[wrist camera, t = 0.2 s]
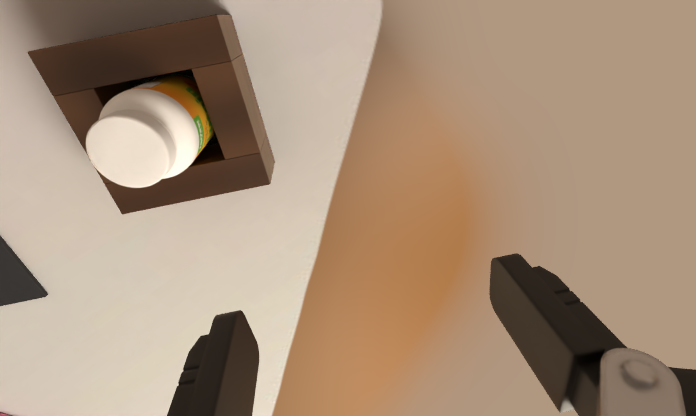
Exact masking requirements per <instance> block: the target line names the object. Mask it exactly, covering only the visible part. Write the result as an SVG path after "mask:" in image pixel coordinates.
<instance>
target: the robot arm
mask: <svg viewBox="0 0 696 416" xmlns="http://www.w3.org/2000/svg"><path fill="white" fill-rule="evenodd" d="M490 300H491V303H492V306H493V309H494V311H495V313H496V314H497V316H498V317H499V319H500V321H501V322H502V324H503V325H504V327H505V328H506V330H507V331H508V333H509V335H510V336H511V337H512V339H513V341H514V342H515V344H516V345H517V347H518V348H519V350H520V351H521V353H522V355H523V356H524V358H525V359H526V361H527V363H528V364H529V366H530V367H531V369H532V370H533V372H534V373H535V375H536V377H537V378H538V380H539V381H540V383H541V384H542V386H543V387H544V389H545V390H546V392H547V394H548V395H549V397H550V398H551V400H552V401H553V403H554V404H555V406H556V407H557V409H558V410H559V412H560V413H562V412H567V411H571V410H575V411H576V412H577V413H578V415H579V416H696V370H692V369H680V368H672V367H667V366H666V365H665V364H663V363H662V362H661V361H659V360H658V359H656V358H654V357H653V356H650V355H649V354H646V353H644V352H641V351H638V350H634V349H629V348H627V347H626V346H625V345H624V344H622V342H621V341H620V340H619V339H618V338H617V337H616V336H615V335H614V334H613V333H612V332H611V331H610V330H609V329H608V328H607V327H606V326H605V325H604V324H603V323H602V322H601V321H600V320H599V319H598V318H597V317H596V316H595V315H594V314H593V312H592V311H590V309H588V307H587V306H586V305H585V304H584V303H583V302H580V299H579V298H578V297H577V296H576V295H575V294H574V293H573V292H572V291H570V290H569V288H568V287H567V286H566V285H565V284H564V283H563V282H562V281H561V280H560V279H559V278H558V276H556V275H555V274H553V273H551V272H549V271H547V270H546V269H544V268H542V267H540V266H538V267H533V268H532V267H531V266H530V265H529V264H528V263H527V262H526V260H525V259H524V258H523V257H522V256H521V255H519V254H512V255H507V256H502V257H497V258H493V259H492V261H491V274H490ZM258 366H259V349H258V345H257V341H256V339H255V337H254V335H253V333H252V330H251V328H250V326H249V324H248V322H247V320H246V317H245V315H244V313H243V312H242V311H241V310H239V311H234V312H230V313H225V314H220V315H216V316H215V318H214V320H213V323H212V326H211V330H210V333H209V334H208V335H204V336H200V338H199V339H198V340H197V342H196V343H195V345H194V346H193V347H192V349H191V350H190V351H189V353H188V356H187V359H186V362H185V365H184V368H183V370H184V371H183V372H182V374H181V377H180V380H179V386H177V388H176V391H175V394H174V397H173V400H172V403H171V406H170V409H169V412H168V414H167V416H252V411H253V404H254V396H255V388H256V381H257V373H258Z"/></svg>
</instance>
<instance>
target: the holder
mask: <svg viewBox="0 0 696 416" xmlns="http://www.w3.org/2000/svg"><path fill="white" fill-rule="evenodd" d="M28 54H29V56H30V58H31V59H32V61H33V63H34V64H35V66H36V68H37V70H38V71H39V73H40V75H41V76H42V78H43V80H44V81H45V83H46V85H47V87H48V88H49V90H50V92H51V93H52V95H53V96H54V98H55V100H56V102H57V104H58V105H59V107H60V109H61V110H62V112H63V114H64V115H65V117H66V119H67V121H68V122H69V124H70V126H71V127H72V129H73V131H74V133H75V134H76V136H77V138H78V139H79V141H80V143H81V145H82V146H83V148H84V150H85V151H86V136H87V133H88V131H89V129H90V128H91V126H92V125H93V124H94V123H95V122H97V121H98V120H99V117H100V113H101V111H102V109H103V108H104V106H105V105H106V104H107V102H108V101H109V100H110V99H112V98H113V97H114V96H116V95H118V94H119V93H122V92H124V91H126V90H129V89H132V88H131V86H130V83H129V81H132V80H137V79H142V78H147V77H152V76H157V75H162V74H167V73H172V72H177V71H182V70H187V69H192V72H193V75H194V78H195V80H196V83H197V86H198V88H199V91H200V94H201V96H202V99H203V102H204V104H205V107H206V110H207V112H208V115H209V118H210V120H211V123H212V126H213V128H214V131H215V134H216V136H217V139H218V142H219V143H218V144H213V145H208V146H205V147H204V148H203V149H202V151H201V152H200V153H199V155H198V156H197V157H196V159H195V160H194V161H193V162H192V164H191V165H190V166H189V167H188V168H187V169H185V170H184V171H183V172H181V173H180V174H178V175H176V176H173V177H170V178H165V179H161V180H160V181H159V182H157V183H155V184H153V185H151V186H148V187H142V188H132V187H126V186H122V185H119V184H117V183H115V182H112V181H111V180H109V179H107V178H106V177H104V176H103V175H102V174H101V173H100V172H99V171H98V170H97V169H96V170H97V172H98V174H99V175H100V177H101V179H102V180H103V182H104V183H105V186H106V187H107V189H108V191H109V192H110V194H111V196H112V198H113V199H114V201H115V203H116V204H117V206H118V208H119V210H120V211H121V213H122V214H126V213H131V212H136V211H141V210H146V209H151V208H155V207H160V206H165V205H170V204H175V203H180V202H185V201H190V200H195V199H200V198H205V197H210V196H214V195H219V194H224V193H229V192H234V191H239V190H244V189H249V188H254V187H259V186H264V185H269V184H270V183H271V178H272V173H273V168H274V163H275V161H274V157H273V154H272V150H271V147H270V144H269V140H268V137H267V134H266V130H265V127H264V124H263V120H262V117H261V113H260V110H259V107H258V103H257V100H256V97H255V93H254V90H253V87H252V83H251V80H250V77H249V73H248V70H247V66H246V63H245V60H244V56H243V53H242V50H241V46H240V43H239V40H238V36H237V33H236V30H235V26H234V23H233V19H232V16H231V15H211V16H206V17H201V18H196V19H191V20H186V21H181V22H176V23H171V24H166V25H161V26H156V27H150V28H145V29H140V30H135V31H130V32H125V33H120V34H115V35H110V36H105V37H100V38H95V39H89V40H84V41H79V42H74V43H69V44H64V45H59V46H54V47H49V48H44V49H39V50H34V51H28ZM86 153H87V151H86ZM87 155H88V154H87Z"/></svg>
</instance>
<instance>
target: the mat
mask: <svg viewBox="0 0 696 416" xmlns="http://www.w3.org/2000/svg"><path fill="white" fill-rule="evenodd" d="M47 295H48V293H47V292H46V291H45V290H44V288H43V287H42V286H41V285H40V284H39V282H38V281H37V280H36V279H35V277H34V276H33V275H32V274H31V273H30V271H29V270H28V269H27V268H26V267H25V265H24V264H23V263H22V262H21V260H20V259H19V258H18V257H17V256H16V254H15V253H14V252H13V251H12V250H11V248H10V247H9V246H8V245H7V243H6V242H5V241H4V240H3V239H2V237H1V236H0V306H3V305H8V304H13V303H18V302H23V301H28V300H32V299H37V298H42V297H46V296H47Z"/></svg>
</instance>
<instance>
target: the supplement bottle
mask: <svg viewBox="0 0 696 416" xmlns="http://www.w3.org/2000/svg"><path fill="white" fill-rule="evenodd" d="M214 134H215V131H214V128H213V126H212V123H211V120H210V118H209V115H208V112H207V110H206V107H205V104H204V102H203V99H202V96H201V94H200V91H199V88H198V86H197V83H196V80H195V78H192V77H190V76H187V75H183V74H169V75H165V76H161V77H159V78H156V79H154V80H151V81H149V82H146V83H144V84H141V85H139V86H137V87H134V88H132V89H129V90H126V91H124V92H122V93H119V94H118V95H116V96H114V97H113V98H112V99H110V100H109V101H108V102H107V104H106V105H105V106H104V108H103V109H102V111H101V113H100V117H99V120H98V121H97V122H95V123H94V124H93V125H92V126H91V128H90V129H89V131H88V133H87V136H86V151H87V154H88V157H89V159H90V161H91V162H92V164H93V165H94V167H95V168H96V169H97V170H98V171H99V172H100V173H101V174H102V175H103V176H104V177H106V178H107V179H109V180H111V181H112V182H115V183H117V184H119V185H122V186H126V187H132V188H142V187H148V186H151V185H153V184H155V183H157V182H159V181H160V180H161V179H165V178H170V177H173V176H176V175H178V174H180V173H181V172H183V171H184V170H185V169H187V168H188V167H189V166H190V165H191V164H192V162H193V161H194V160H195V159H196V157H197V156H198V155H199V153H200V152H201V151H202V149H203V148H204V147H205V146H206V144H207V143H208V142H209V141H210V139H211V138H212V137H213V136H214Z"/></svg>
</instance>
